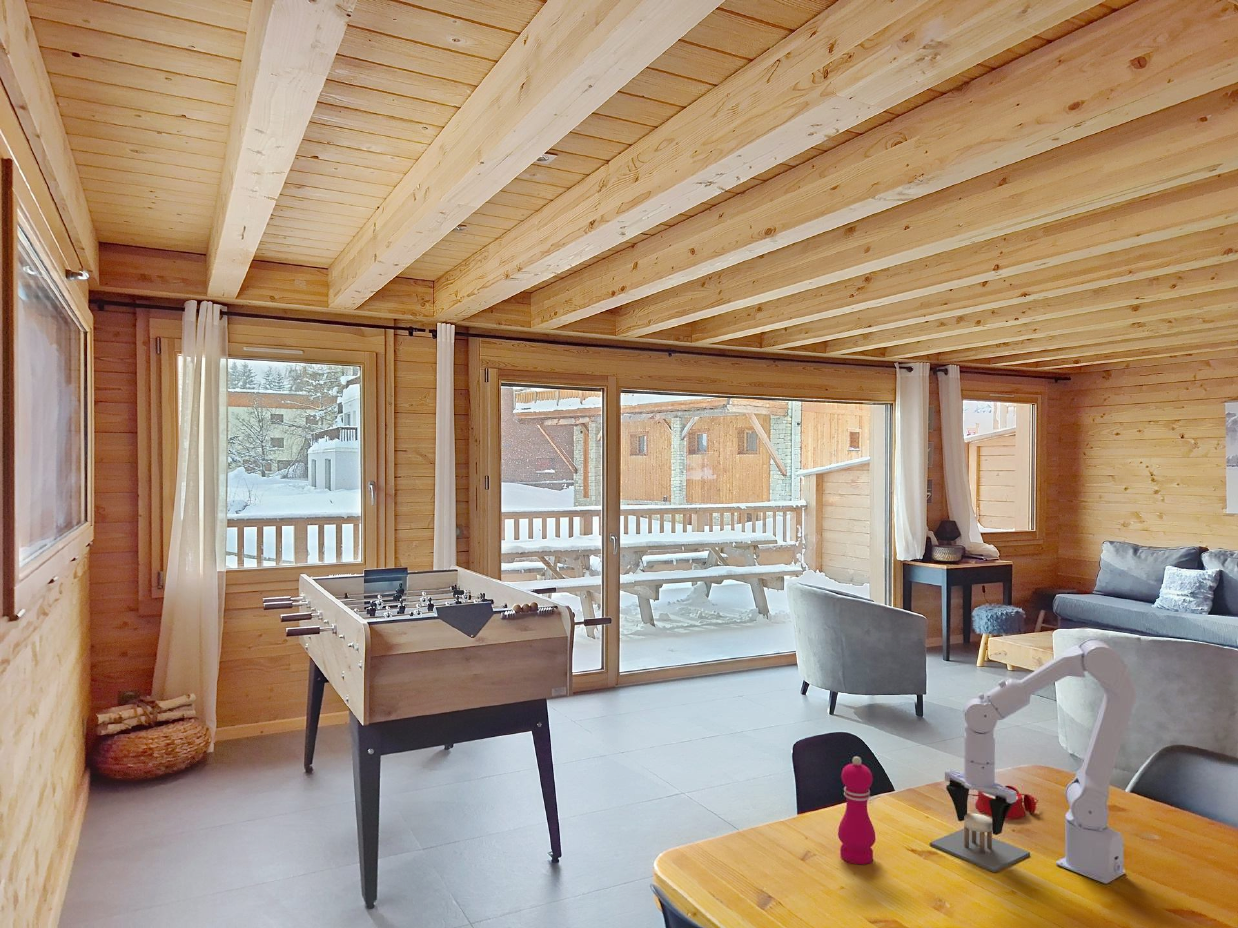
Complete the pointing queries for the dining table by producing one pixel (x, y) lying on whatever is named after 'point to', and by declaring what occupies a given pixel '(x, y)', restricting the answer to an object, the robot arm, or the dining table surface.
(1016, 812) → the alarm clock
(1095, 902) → the dining table surface
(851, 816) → the pepper mill
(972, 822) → the stool
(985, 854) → the mat
